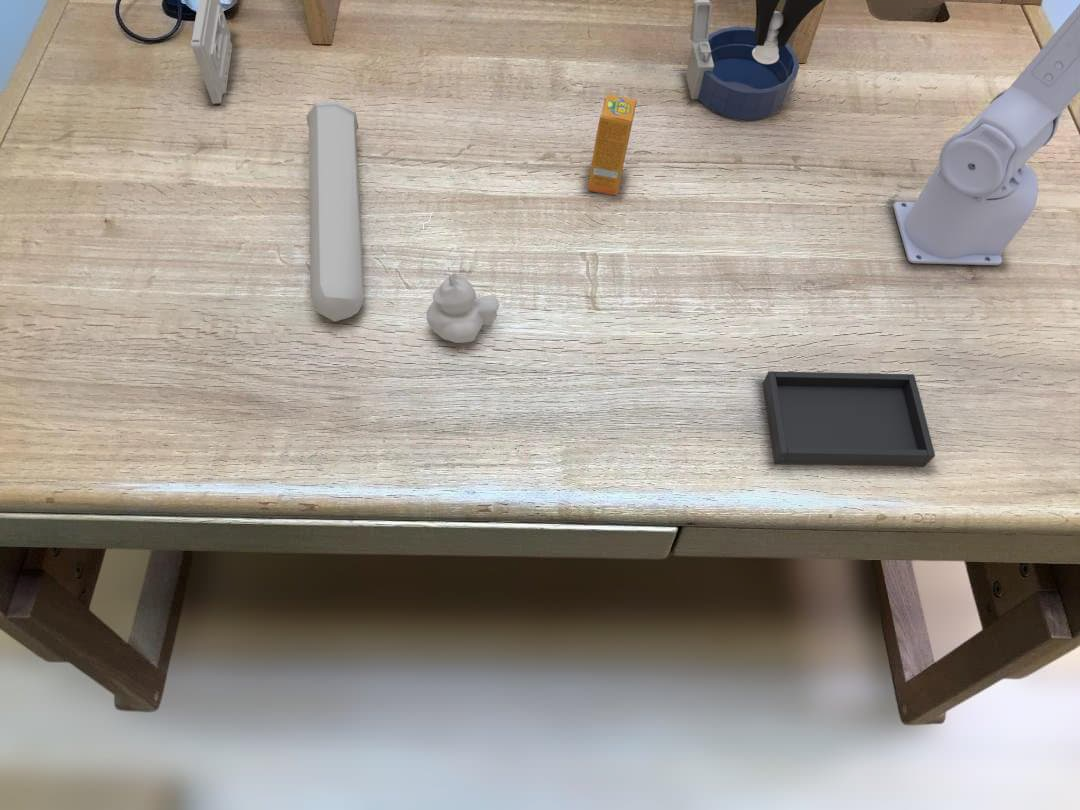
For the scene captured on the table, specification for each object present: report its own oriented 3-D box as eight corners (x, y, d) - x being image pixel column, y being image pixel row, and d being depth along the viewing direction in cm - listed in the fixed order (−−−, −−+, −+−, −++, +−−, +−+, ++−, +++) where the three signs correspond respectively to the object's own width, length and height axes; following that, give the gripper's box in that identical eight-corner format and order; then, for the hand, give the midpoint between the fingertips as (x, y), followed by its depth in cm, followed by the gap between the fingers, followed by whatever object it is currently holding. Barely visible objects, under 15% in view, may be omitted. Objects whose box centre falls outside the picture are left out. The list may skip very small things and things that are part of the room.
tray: (904, 386, 78) (914, 374, 76) (925, 466, 74) (935, 455, 72) (762, 383, 78) (768, 370, 76) (774, 464, 73) (781, 453, 72)
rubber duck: (426, 307, 80) (419, 251, 74) (496, 301, 81) (495, 246, 74) (430, 355, 78) (423, 302, 71) (502, 348, 78) (502, 295, 72)
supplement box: (619, 197, 88) (632, 121, 80) (587, 191, 89) (596, 115, 80) (624, 174, 90) (637, 98, 81) (592, 169, 90) (602, 92, 82)
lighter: (706, 99, 96) (721, 37, 89) (691, 99, 96) (705, 37, 89) (696, 57, 100) (710, -5, 93) (681, 58, 100) (694, -5, 93)
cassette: (219, 35, 99) (198, -27, 92) (235, 34, 99) (216, -27, 93) (208, 105, 93) (185, 45, 87) (225, 105, 93) (204, 44, 87)
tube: (373, 299, 76) (362, 105, 88) (311, 293, 74) (309, 95, 86) (362, 333, 80) (353, 143, 92) (303, 328, 78) (303, 135, 90)
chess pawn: (765, 68, 88) (779, 26, 84) (746, 54, 89) (758, 11, 85) (784, 58, 89) (798, 15, 85) (764, 44, 90) (778, 1, 86)
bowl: (781, 57, 101) (791, 28, 97) (795, 123, 95) (806, 94, 92) (687, 54, 100) (693, 24, 97) (695, 120, 95) (703, 91, 91)
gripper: (881, -115, 78) (832, 17, 90) (724, -121, 78) (696, 13, 90) (897, -71, 75) (844, 61, 86) (733, -77, 74) (702, 56, 86)
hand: (769, 39), depth 88 cm, fingers closed on chess pawn, 2 cm apart
